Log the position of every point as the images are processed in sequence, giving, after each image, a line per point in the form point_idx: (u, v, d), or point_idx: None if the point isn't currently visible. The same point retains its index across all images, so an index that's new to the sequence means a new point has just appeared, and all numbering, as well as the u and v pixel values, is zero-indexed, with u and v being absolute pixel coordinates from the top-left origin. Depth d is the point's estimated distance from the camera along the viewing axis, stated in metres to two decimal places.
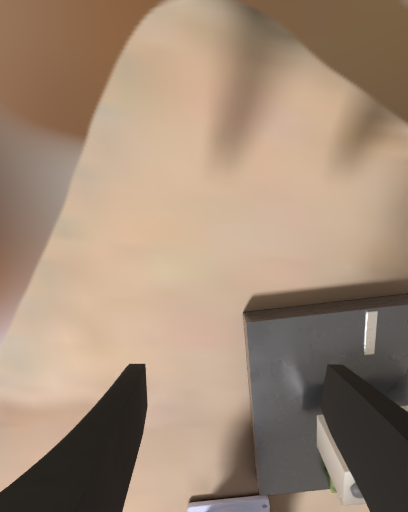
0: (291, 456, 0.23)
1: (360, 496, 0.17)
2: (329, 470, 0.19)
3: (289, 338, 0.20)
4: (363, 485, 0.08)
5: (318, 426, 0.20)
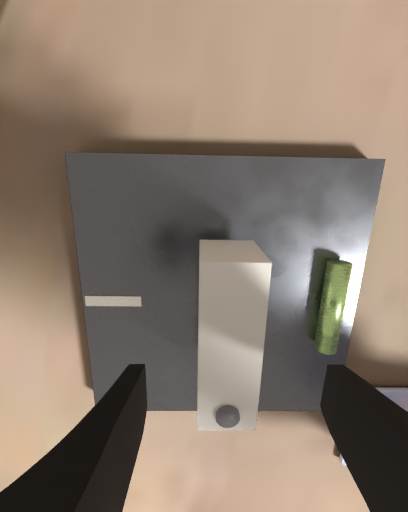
0: (279, 377, 0.20)
1: (236, 419, 0.13)
2: None
3: (115, 376, 0.19)
4: (363, 485, 0.08)
5: None
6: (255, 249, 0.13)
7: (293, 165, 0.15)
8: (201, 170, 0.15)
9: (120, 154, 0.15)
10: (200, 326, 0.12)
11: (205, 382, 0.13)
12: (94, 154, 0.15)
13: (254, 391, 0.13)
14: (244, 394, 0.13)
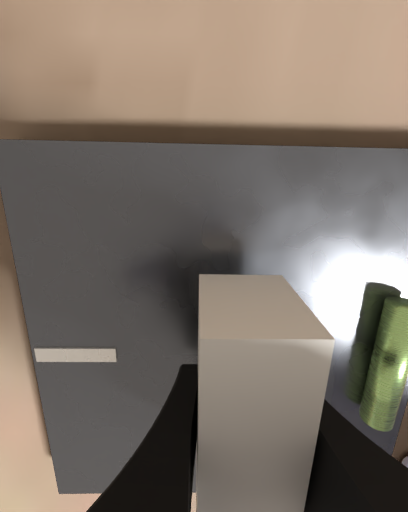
0: None
1: None
2: None
3: (84, 451, 0.14)
4: None
5: None
6: (291, 298, 0.08)
7: (342, 160, 0.10)
8: (201, 168, 0.10)
9: (77, 143, 0.10)
10: (200, 443, 0.07)
11: None
12: (37, 143, 0.10)
13: None
14: None
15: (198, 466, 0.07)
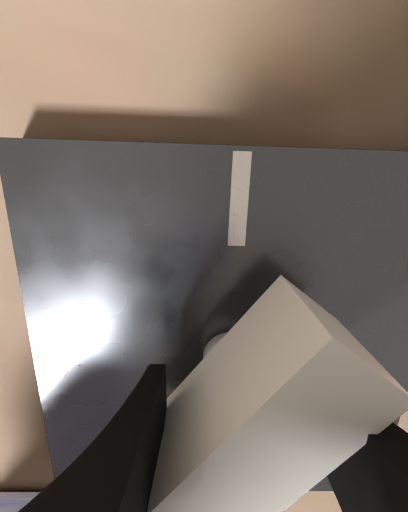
0: None
1: None
2: None
3: (85, 188, 0.10)
4: (336, 485, 0.08)
5: None
6: (361, 345, 0.09)
7: None
8: None
9: None
10: (247, 422, 0.07)
11: (183, 495, 0.07)
12: None
13: None
14: None
15: (226, 441, 0.07)
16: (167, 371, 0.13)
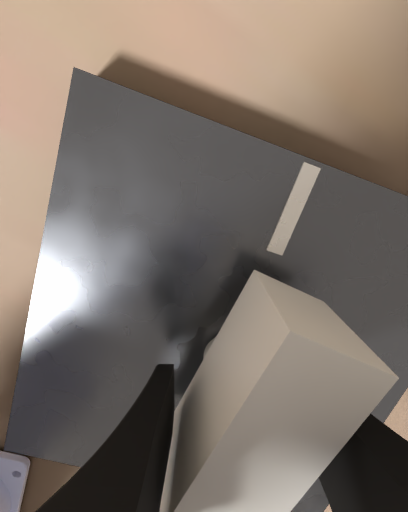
0: (80, 396, 0.13)
1: None
2: None
3: (148, 150, 0.10)
4: (327, 485, 0.08)
5: None
6: (344, 326, 0.08)
7: None
8: (397, 375, 0.13)
9: None
10: (230, 428, 0.07)
11: (189, 508, 0.08)
12: None
13: None
14: None
15: (214, 450, 0.07)
16: (163, 355, 0.13)
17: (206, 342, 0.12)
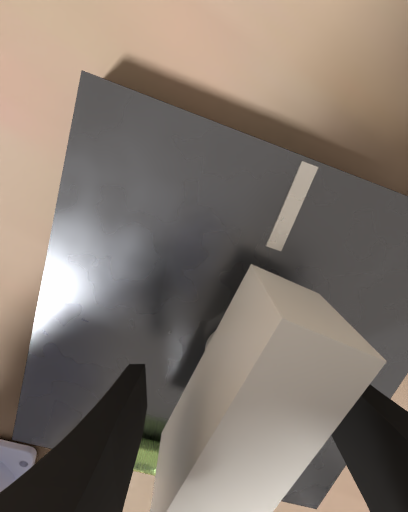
0: (85, 387, 0.14)
1: None
2: None
3: (152, 150, 0.10)
4: (363, 485, 0.08)
5: None
6: (337, 315, 0.09)
7: None
8: (393, 368, 0.14)
9: None
10: (228, 411, 0.07)
11: (192, 489, 0.08)
12: None
13: None
14: None
15: (214, 432, 0.07)
16: (166, 348, 0.13)
17: (207, 335, 0.13)
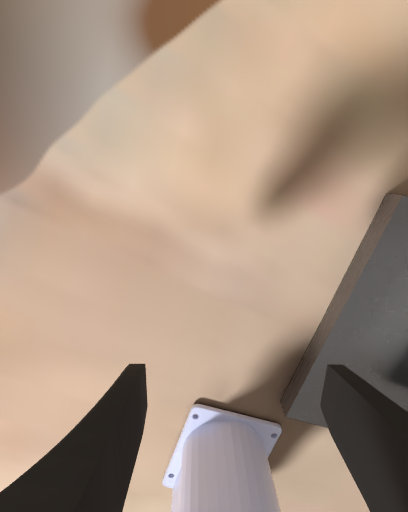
0: None
1: None
2: None
3: None
4: (363, 485, 0.08)
5: None
6: None
7: None
8: None
9: None
10: None
11: None
12: None
13: None
14: None
15: None
16: (405, 354, 0.20)
17: None
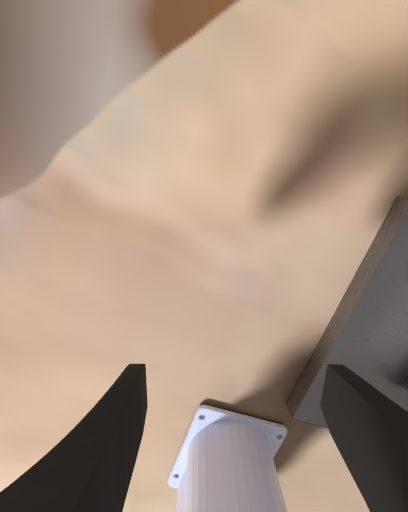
0: None
1: None
2: None
3: None
4: (363, 485, 0.08)
5: None
6: None
7: None
8: None
9: None
10: None
11: None
12: None
13: None
14: None
15: None
16: None
17: None
